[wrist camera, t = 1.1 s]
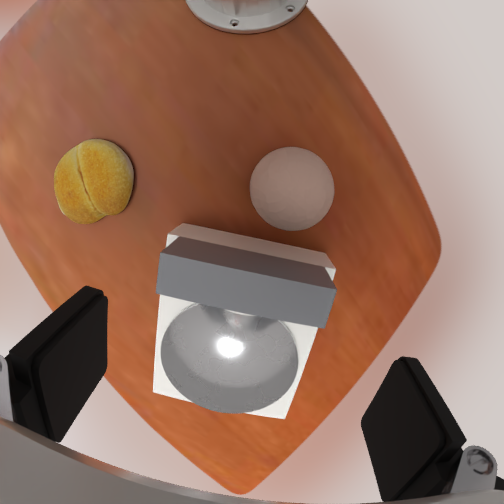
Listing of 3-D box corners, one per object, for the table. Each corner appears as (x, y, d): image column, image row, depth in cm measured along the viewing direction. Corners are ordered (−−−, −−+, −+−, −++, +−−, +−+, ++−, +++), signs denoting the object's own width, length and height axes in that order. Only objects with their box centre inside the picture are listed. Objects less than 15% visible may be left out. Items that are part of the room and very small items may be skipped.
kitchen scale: (182, 222, 31) (146, 249, 21) (325, 253, 31) (350, 292, 21) (165, 365, 35) (138, 423, 25) (283, 390, 35) (286, 453, 26)
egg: (274, 136, 28) (277, 123, 19) (336, 173, 29) (365, 176, 20) (238, 198, 30) (227, 212, 21) (300, 233, 30) (314, 261, 22)
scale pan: (169, 283, 27) (166, 286, 26) (314, 313, 27) (315, 317, 26) (159, 392, 30) (157, 397, 29) (278, 416, 30) (278, 422, 30)
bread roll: (146, 203, 30) (131, 208, 27) (77, 228, 31) (57, 236, 28) (124, 125, 28) (106, 121, 25) (57, 158, 29) (36, 159, 26)
